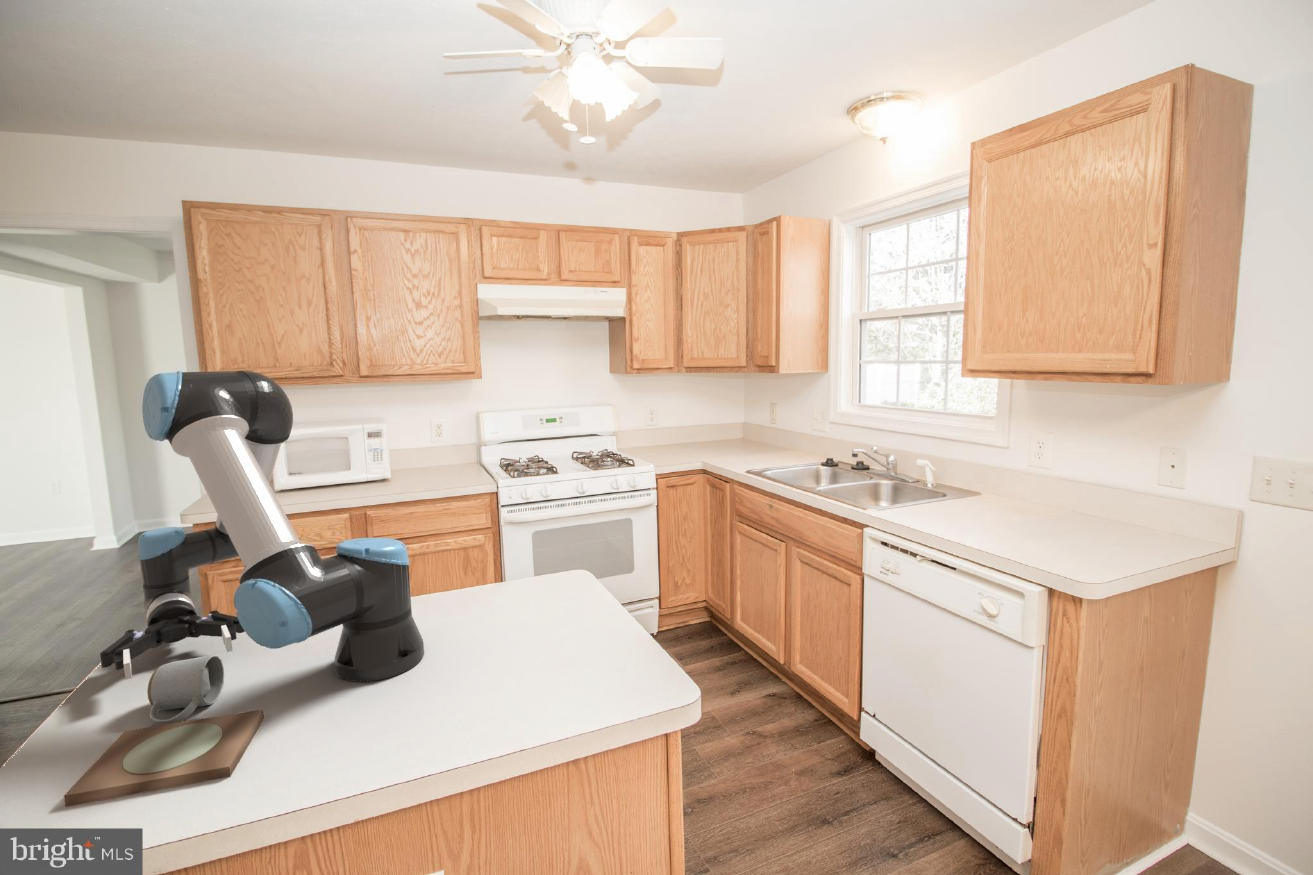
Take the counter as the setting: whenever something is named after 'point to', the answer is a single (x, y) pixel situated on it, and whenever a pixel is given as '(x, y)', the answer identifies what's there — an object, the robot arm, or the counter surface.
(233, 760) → the walnut board
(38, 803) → the counter surface
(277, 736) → the counter surface
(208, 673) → the speckled gray mug
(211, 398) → the robot arm
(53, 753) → the counter surface
